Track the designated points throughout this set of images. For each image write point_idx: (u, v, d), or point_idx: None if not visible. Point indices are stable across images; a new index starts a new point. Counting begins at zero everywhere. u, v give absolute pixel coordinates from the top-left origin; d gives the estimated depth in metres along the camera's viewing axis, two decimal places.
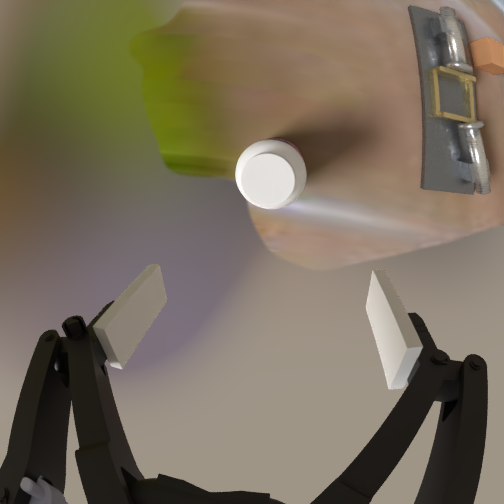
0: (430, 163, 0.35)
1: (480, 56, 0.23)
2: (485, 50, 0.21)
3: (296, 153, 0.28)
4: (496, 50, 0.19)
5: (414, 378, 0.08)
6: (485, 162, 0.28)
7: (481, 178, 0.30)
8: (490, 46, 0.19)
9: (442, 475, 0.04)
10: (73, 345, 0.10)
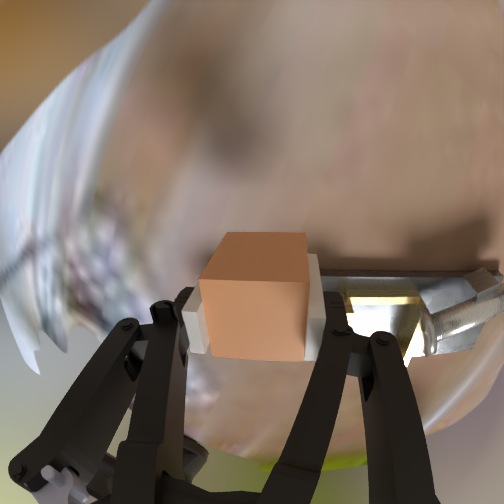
0: (450, 346, 0.26)
1: None
2: None
3: None
4: (246, 336, 0.14)
5: (320, 353, 0.10)
6: (481, 315, 0.18)
7: None
8: (244, 356, 0.14)
9: (384, 455, 0.06)
10: (157, 330, 0.11)
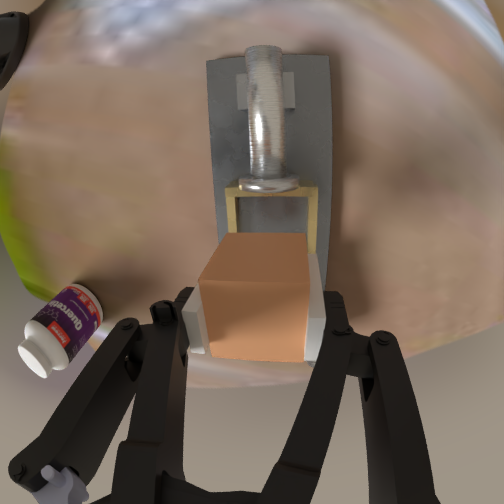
0: None
1: None
2: None
3: (48, 339, 0.25)
4: (246, 337, 0.14)
5: (320, 353, 0.10)
6: None
7: None
8: (244, 357, 0.14)
9: (384, 455, 0.06)
10: (157, 330, 0.11)
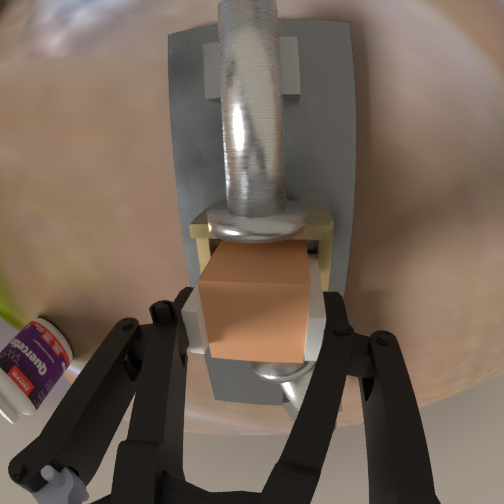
0: (219, 376, 0.24)
1: None
2: None
3: (9, 387, 0.17)
4: (246, 338, 0.13)
5: (321, 353, 0.10)
6: None
7: None
8: (244, 357, 0.14)
9: (384, 455, 0.06)
10: (157, 330, 0.11)
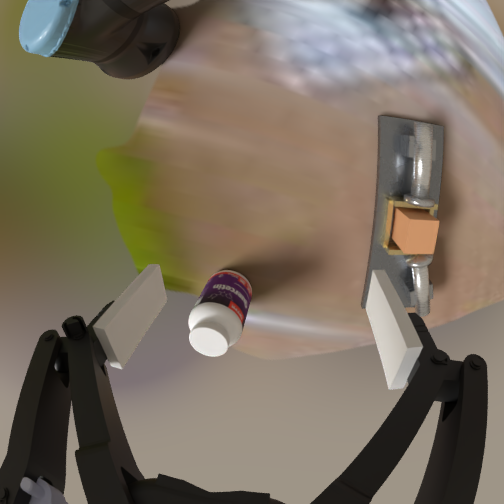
0: None
1: None
2: None
3: (232, 317, 0.37)
4: (418, 242, 0.33)
5: (414, 378, 0.08)
6: (426, 291, 0.37)
7: (419, 304, 0.39)
8: (415, 252, 0.34)
9: (442, 475, 0.04)
10: (73, 345, 0.10)
